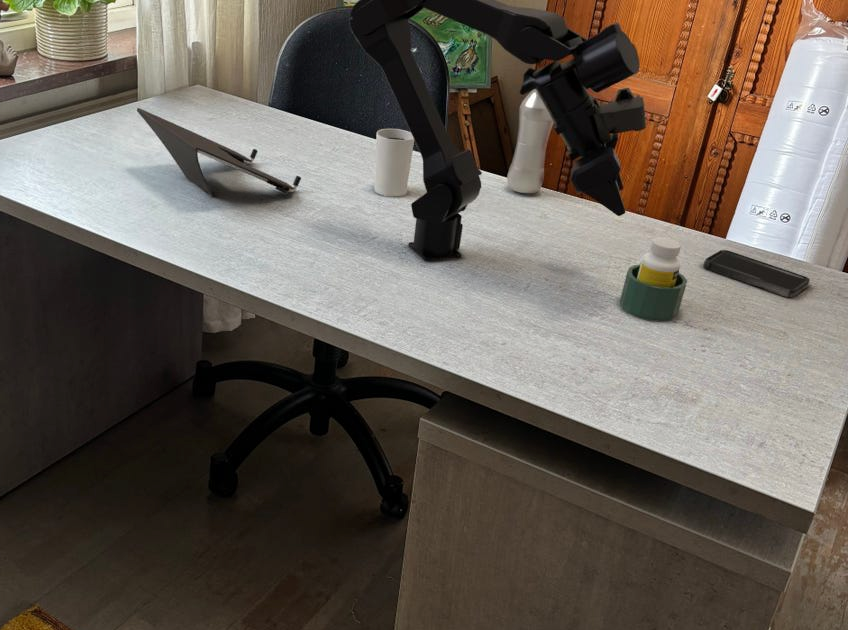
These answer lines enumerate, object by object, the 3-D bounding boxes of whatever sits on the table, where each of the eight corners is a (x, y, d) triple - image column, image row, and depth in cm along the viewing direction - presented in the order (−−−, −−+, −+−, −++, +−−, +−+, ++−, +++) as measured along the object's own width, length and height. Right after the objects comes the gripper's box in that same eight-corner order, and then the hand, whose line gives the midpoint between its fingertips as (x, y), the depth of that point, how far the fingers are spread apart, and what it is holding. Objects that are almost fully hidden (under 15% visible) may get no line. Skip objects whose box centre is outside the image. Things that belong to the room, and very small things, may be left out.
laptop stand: (289, 233, 170) (312, 184, 167) (179, 190, 153) (202, 134, 151) (228, 190, 185) (248, 144, 182) (121, 146, 168) (141, 95, 166)
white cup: (401, 184, 178) (407, 128, 172) (413, 196, 173) (420, 140, 167) (366, 184, 176) (371, 128, 170) (378, 198, 171) (383, 140, 165)
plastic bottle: (501, 184, 182) (520, 72, 171) (537, 186, 183) (557, 75, 172) (508, 196, 177) (528, 81, 166) (544, 198, 178) (566, 84, 167)
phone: (723, 248, 161) (812, 278, 153) (721, 255, 162) (809, 285, 154) (702, 260, 156) (793, 292, 148) (700, 267, 157) (791, 298, 149)
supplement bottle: (668, 316, 140) (687, 252, 134) (630, 310, 140) (647, 246, 135) (667, 301, 144) (684, 238, 138) (630, 295, 145) (646, 232, 139)
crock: (643, 324, 138) (652, 291, 135) (608, 298, 144) (616, 267, 141) (689, 317, 141) (699, 285, 138) (653, 292, 147) (662, 261, 144)
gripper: (628, 93, 121) (680, 198, 128) (623, 55, 136) (670, 151, 142) (547, 139, 126) (602, 238, 133) (551, 98, 141) (600, 189, 147)
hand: (621, 202), depth 139 cm, fingers open, 9 cm apart
